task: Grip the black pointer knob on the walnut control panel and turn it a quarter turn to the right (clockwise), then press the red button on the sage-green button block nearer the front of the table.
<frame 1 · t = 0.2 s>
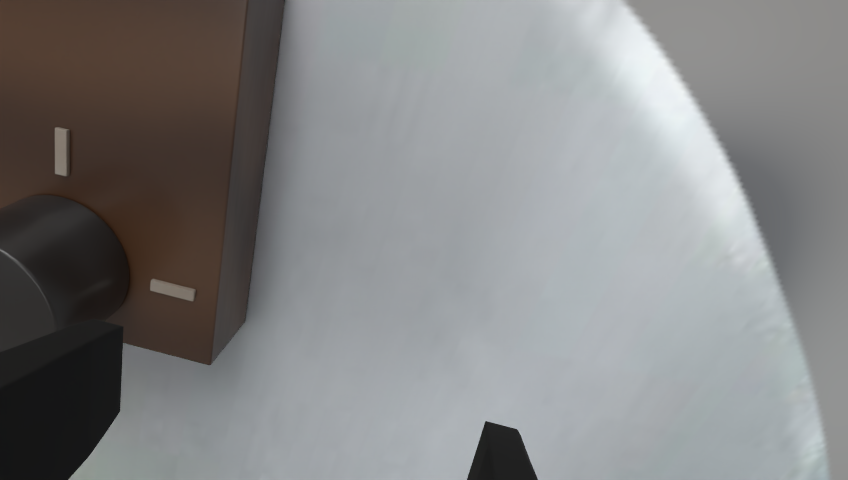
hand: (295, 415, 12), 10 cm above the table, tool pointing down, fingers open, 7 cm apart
knob: (20, 287, 18), point 5 cm above the table, hinge at 0.0°
dial panel: (121, 133, 21), on the table
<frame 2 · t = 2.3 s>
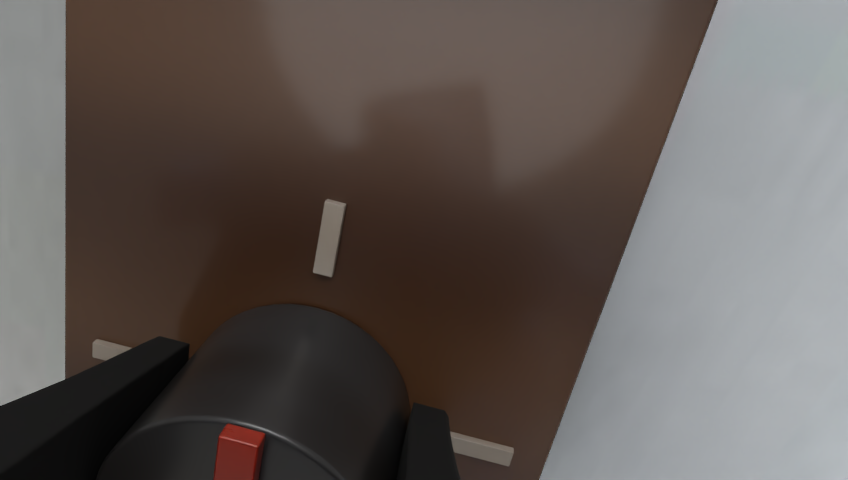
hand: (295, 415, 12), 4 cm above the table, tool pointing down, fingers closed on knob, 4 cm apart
knob: (267, 466, 11), point 5 cm above the table, hinge at -0.2°, touching gripper
dial panel: (364, 192, 14), on the table
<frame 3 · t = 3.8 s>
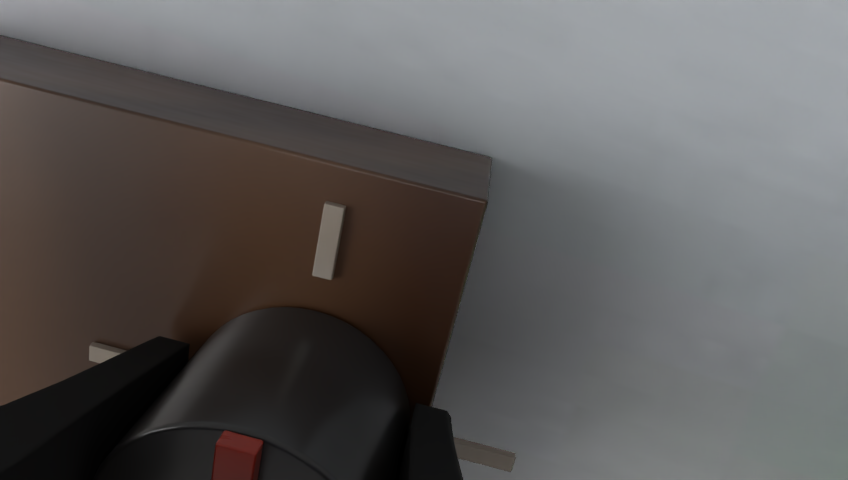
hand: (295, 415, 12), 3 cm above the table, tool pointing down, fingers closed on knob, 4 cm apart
knob: (266, 472, 11), point 5 cm above the table, hinge at -90.3°, touching gripper
dial panel: (199, 293, 15), on the table
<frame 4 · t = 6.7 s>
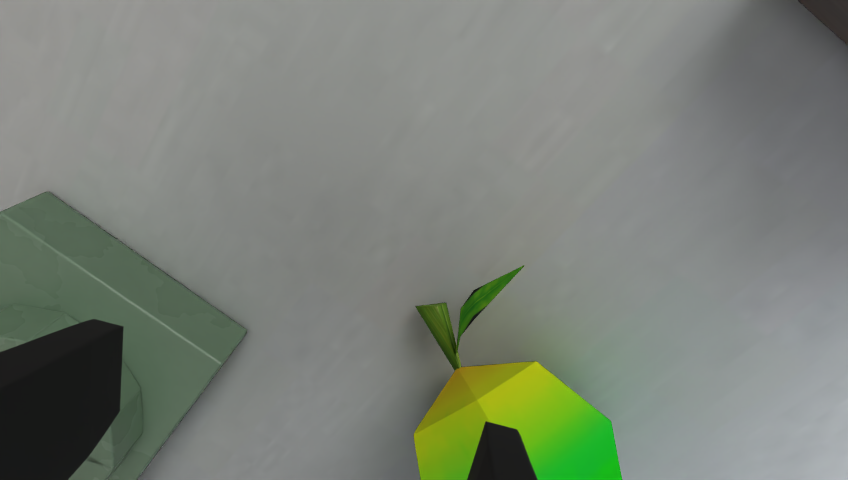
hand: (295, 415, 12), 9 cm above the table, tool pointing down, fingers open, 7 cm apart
button block: (90, 358, 23), on the table
apple: (584, 381, 19), point 1 cm above the table
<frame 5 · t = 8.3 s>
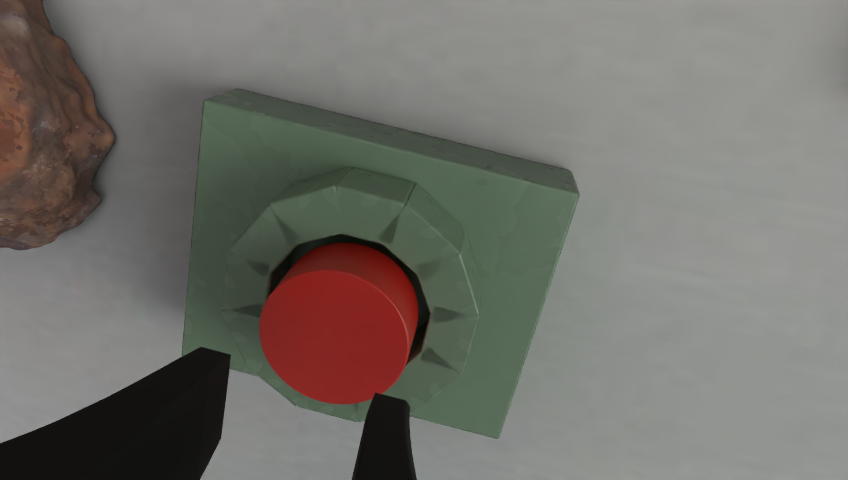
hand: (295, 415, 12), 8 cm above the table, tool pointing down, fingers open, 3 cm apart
button block: (376, 253, 20), on the table
button: (341, 322, 16), point 4 cm above the table, slide at 0.1 cm
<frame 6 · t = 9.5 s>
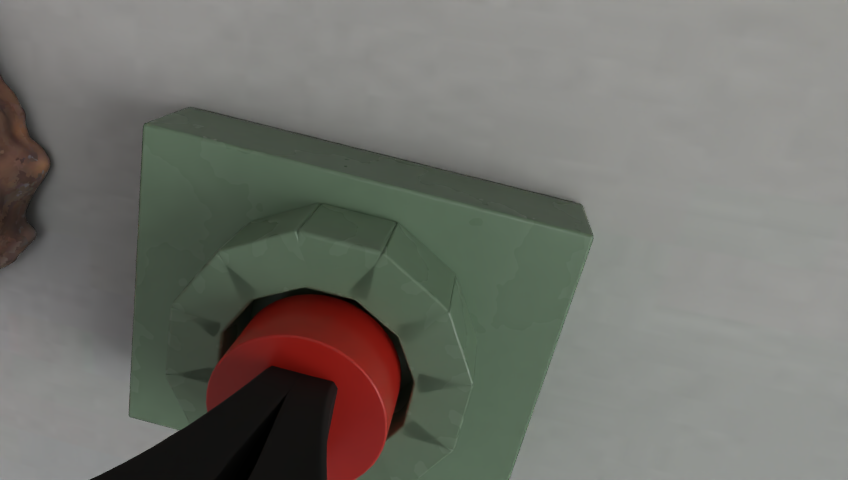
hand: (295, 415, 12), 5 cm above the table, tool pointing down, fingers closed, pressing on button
button block: (355, 296, 17), on the table
button: (308, 391, 13), point 4 cm above the table, slide at 0.0 cm, touching gripper
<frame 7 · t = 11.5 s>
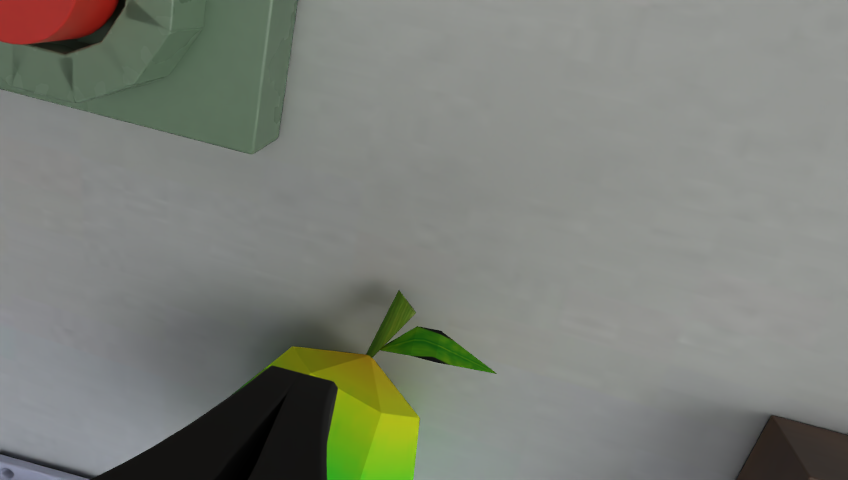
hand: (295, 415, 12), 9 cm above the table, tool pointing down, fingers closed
apple: (411, 447, 22), point 1 cm above the table
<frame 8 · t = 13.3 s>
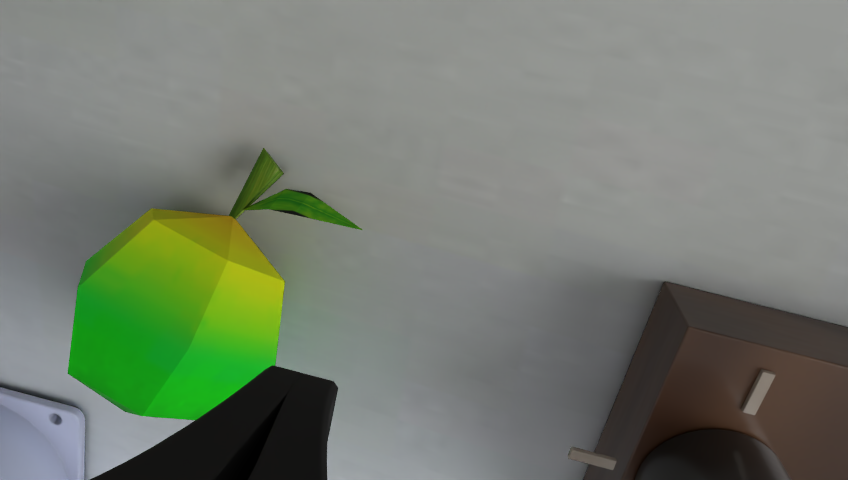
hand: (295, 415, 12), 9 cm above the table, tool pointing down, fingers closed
apple: (286, 322, 21), point 1 cm above the table
dial panel: (782, 450, 22), on the table
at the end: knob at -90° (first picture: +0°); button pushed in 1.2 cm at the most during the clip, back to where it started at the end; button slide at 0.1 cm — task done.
